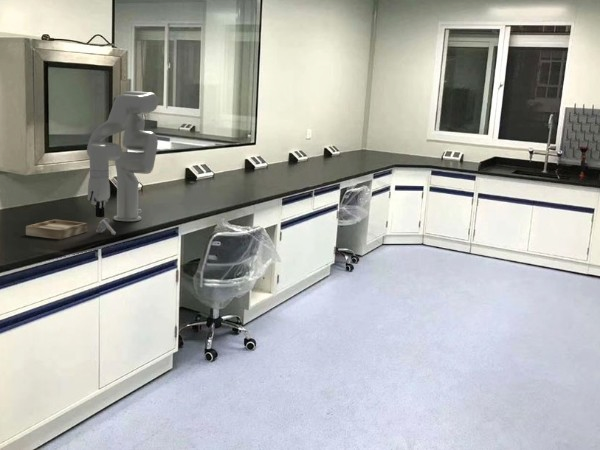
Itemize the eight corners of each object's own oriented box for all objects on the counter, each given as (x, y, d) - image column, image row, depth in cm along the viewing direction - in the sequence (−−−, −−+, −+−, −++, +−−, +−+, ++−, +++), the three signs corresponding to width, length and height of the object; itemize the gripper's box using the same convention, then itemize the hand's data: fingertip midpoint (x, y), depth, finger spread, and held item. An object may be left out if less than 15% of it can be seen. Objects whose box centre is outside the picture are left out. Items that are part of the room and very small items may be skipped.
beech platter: (54, 227, 258) (54, 219, 258) (87, 231, 254) (87, 223, 254) (25, 235, 241) (25, 226, 240) (60, 239, 237) (60, 230, 237)
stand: (94, 232, 252) (101, 218, 249) (103, 231, 256) (111, 217, 253) (105, 244, 250) (112, 230, 246) (114, 243, 254) (121, 229, 250)
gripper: (101, 171, 258) (102, 212, 262) (80, 175, 244) (81, 219, 248) (117, 172, 256) (117, 214, 260) (97, 176, 242) (97, 221, 246)
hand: (100, 216), depth 254 cm, fingers closed
